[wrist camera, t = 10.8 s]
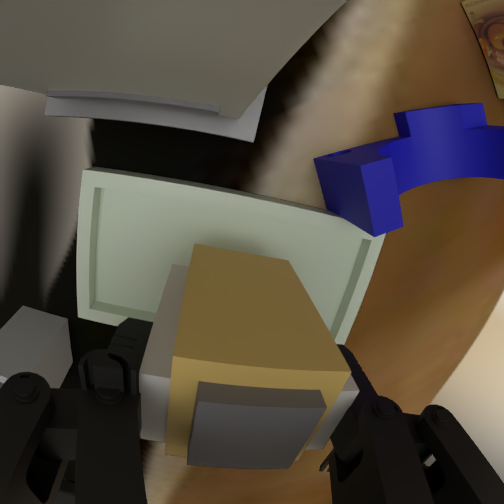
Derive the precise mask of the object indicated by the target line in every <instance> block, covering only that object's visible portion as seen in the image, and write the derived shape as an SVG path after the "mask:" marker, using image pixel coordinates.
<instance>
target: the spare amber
mask: <svg viewBox="0 0 504 504" xmlns="http://www.w3.org/2000/svg"><path fill="white" fill-rule="evenodd" d="M351 372H352V371H351V370H350V368H349V366H348V364H347V362H346V360H345V359H344V357H343V355H342V353H341V351H340V350H339V348H338V346H337V344H336V342H335V341H334V339H333V337H332V335H331V334H330V332H329V330H328V328H327V326H326V325H325V323H324V321H323V319H322V318H321V316H320V314H319V312H318V311H317V309H316V307H315V305H314V304H313V302H312V300H311V298H310V297H309V295H308V293H307V291H306V290H305V288H304V286H303V284H302V283H301V281H300V279H299V277H298V276H297V274H296V272H295V271H294V269H293V267H292V265H291V264H290V262H289V260H284V259H278V258H273V257H267V256H262V255H256V254H250V253H245V252H239V251H234V250H228V249H222V248H217V247H211V246H206V245H200V244H195V243H194V247H193V251H192V256H191V261H190V266H189V271H188V276H187V281H186V286H185V291H184V296H183V301H182V307H181V312H180V317H179V323H178V329H177V334H176V340H175V346H174V352H173V360H172V370H171V380H170V391H169V403H168V417H167V432H166V450H165V454H166V455H172V456H180V457H187V465H195V466H206V467H219V468H240V469H280V468H289V467H290V466H291V464H292V463H293V462H294V461H298V460H299V458H300V457H301V455H302V454H303V452H304V451H305V449H306V448H307V446H308V445H309V443H310V442H311V440H312V439H313V437H314V436H315V434H316V433H317V431H318V429H319V428H320V426H321V425H322V423H323V421H324V420H325V418H326V416H327V415H328V413H329V411H330V410H331V408H332V406H333V404H334V403H335V401H336V399H337V398H338V396H339V394H340V392H341V390H342V389H343V387H344V385H345V383H346V381H347V379H348V378H349V376H350V374H351Z"/></svg>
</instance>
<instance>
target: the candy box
mask: <svg viewBox="0 0 504 504" xmlns="http://www.w3.org/2000/svg"><path fill="white" fill-rule="evenodd" d="M461 4H462V6H463V8H464V10H465V12H466V14H467V16H468V19H469V21H470V23H471V25H472V27H473V29H474V31H475V33H476V35H477V38H478V40H479V43H480V45H481V48H482V50H483V53H484V56H485V58H486V61H487V63H488V66H489V69H490V72H491V76H492V79H493V82H494V85H495V88H496V91H497V95H498V98H500V99H504V0H465V1H463V2H462V3H461Z"/></svg>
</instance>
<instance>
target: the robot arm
mask: <svg viewBox="0 0 504 504" xmlns="http://www.w3.org/2000/svg"><path fill="white" fill-rule="evenodd" d="M188 271H189V267H188V266H182V265H176V264H172V267H171V270H170V273H169V276H168V279H167V282H166V285H165V288H164V291H163V294H162V297H161V300H160V303H159V307H158V310H157V313H156V316H155V319H154V322H150V321H145V320H140V319H135V318H130V317H128V318H127V319H125V320H124V321H123V322H121V323H120V324H119V325H118V327H117V329H116V332H115V334H114V336H113V338H112V340H111V344H110V345H109V347H108V349H97V350H94V351H91V352H88V353H87V354H85V355H84V356H83V357H81V359H80V361H79V363H78V369H79V375H80V381H81V387H79V388H72V389H62V388H50V385H49V383H48V382H47V381H46V379H45V378H43V377H42V376H40V375H38V374H36V373H32V372H19V373H17V374H14V375H12V376H11V377H10V378H8V379H7V380H6V381H5V383H4V384H3V385H2V387H1V388H0V504H147V498H146V492H145V485H144V478H143V470H142V461H141V452H140V442H139V439H140V433H141V438H142V439H147V440H153V441H159V442H165V443H166V432H167V417H168V403H169V391H170V380H171V370H172V360H173V352H174V346H175V340H176V334H177V329H178V323H179V317H180V312H181V307H182V301H183V296H184V291H185V286H186V281H187V276H188ZM337 346H338V348H339V350H340V351H341V353H342V355H343V357H344V359H345V360H346V362H347V364H348V366H349V368H350V370H351V371H352V372H351V374H350V376H349V378H348V379H347V381H346V383H345V385H344V387H343V389H342V390H341V392H340V394H339V396H338V398H337V399H336V401H335V403H334V404H333V406H332V408H331V410H330V411H329V413H328V415H327V416H326V418H325V420H324V421H323V423H322V425H321V426H320V428H319V429H318V431H317V433H316V434H315V436H314V437H313V439H312V440H311V442H310V443H309V445H308V446H307V448H306V449H305V450H311V449H323V448H324V446H325V445H326V443H327V442H328V440H329V439H331V441H332V444H333V447H334V448H333V450H332V451H331V452H330V454H329V455H328V456H327V458H326V459H325V460H324V462H323V463H322V464H321V465H320V470H319V471H323V470H324V469H325V468H326V466H327V465H328V464H329V468H328V470H327V472H330V480H331V491H332V503H333V504H504V483H503V482H502V480H501V479H500V477H499V476H498V475H497V473H496V472H495V470H494V469H493V468H492V466H491V465H490V463H489V462H488V461H487V459H486V458H485V457H484V455H483V454H482V453H481V451H480V450H479V449H478V447H477V446H476V445H475V443H474V442H473V440H472V439H471V438H470V436H469V435H468V434H467V433H466V431H465V430H464V429H463V427H462V426H461V425H460V423H459V422H458V421H457V420H456V418H455V417H454V416H453V415H452V413H450V412H449V411H448V410H447V409H445V408H444V407H442V406H439V405H429V406H427V407H425V409H424V410H423V412H422V413H421V414H420V415H414V414H407V413H403V412H402V410H401V409H400V407H399V406H398V405H397V404H396V403H395V402H394V401H392V400H390V399H389V398H387V397H383V396H378V395H377V393H376V391H375V390H374V388H373V386H372V385H371V383H370V381H369V380H368V378H367V376H366V375H365V373H364V371H362V368H361V366H360V365H359V364H358V362H357V360H356V358H355V357H354V355H353V353H352V352H351V351H350V350H348V349H347V348H346V347H345V346H344V345H343V344H337ZM432 454H433V456H434V457H435V459H436V461H435V462H434V463H433V464H432V465H431V466H430V467H428V466H426V465H425V464H424V462H425V461H426V460H427V459H428V458H429V457H430V456H431V455H432ZM69 460H76V461H75V483H72V482H69V481H64V480H62V479H63V476H64V473H65V470H66V467H67V465H68V462H69Z"/></svg>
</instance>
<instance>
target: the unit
mask: <svg viewBox="0 0 504 504" xmlns="http://www.w3.org/2000/svg"><path fill="white" fill-rule="evenodd" d="M346 1H347V0H0V85H5V86H10V87H14V88H20V89H24V90H29V91H33V92H37V93H42V94H46V96H48V100H47V104H46V109H45V114H44V115H46V116H59V117H80V118H94V119H106V120H116V121H126V122H135V123H143V124H151V125H158V126H165V127H172V128H178V129H185V130H191V131H196V132H202V133H208V134H213V135H218V136H223V137H228V138H233V139H238V140H243V141H247V142H254V139H255V135H256V130H257V126H258V122H259V118H260V114H261V109H262V105H263V101H264V97H265V93H266V89H267V85H268V83H269V82H270V81H271V80H272V79H273V77H274V76H275V75H276V74H277V73H278V72H279V71H280V69H281V68H282V67H283V66H284V65H285V64H286V63H287V62H288V60H289V59H290V58H291V57H292V56H293V55H294V54H295V53H296V52H297V51H298V50H299V48H300V47H301V46H302V45H303V44H304V43H305V42H306V41H307V40H308V39H309V38H310V37H311V36H312V35H313V34H314V33H315V32H316V31H317V30H318V29H319V27H320V26H321V25H322V24H323V23H324V22H325V21H326V20H327V19H328V18H329V17H330V16H331V15H332V14H333V13H334V12H336V11H337V10H338V9H339V8H340V7H341V6H342V5H343V4H344V3H345V2H346Z"/></svg>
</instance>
